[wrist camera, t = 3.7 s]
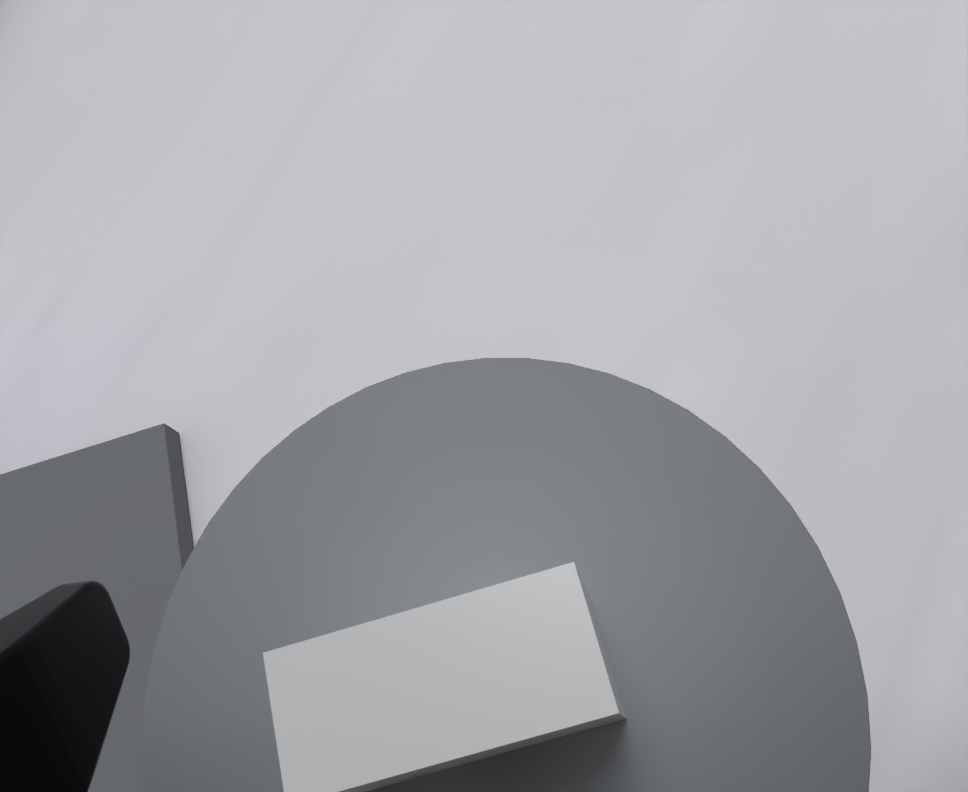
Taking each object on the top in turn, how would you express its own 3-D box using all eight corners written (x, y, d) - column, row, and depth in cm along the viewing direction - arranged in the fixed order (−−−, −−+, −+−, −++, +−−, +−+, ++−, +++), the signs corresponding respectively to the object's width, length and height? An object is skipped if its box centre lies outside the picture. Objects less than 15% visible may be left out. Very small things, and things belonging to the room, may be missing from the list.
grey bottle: (480, 920, 15) (26, 1406, 4) (414, 616, 16) (-14, 399, 6) (781, 840, 14) (1156, 1137, 4) (677, 540, 16) (724, 163, 6)
